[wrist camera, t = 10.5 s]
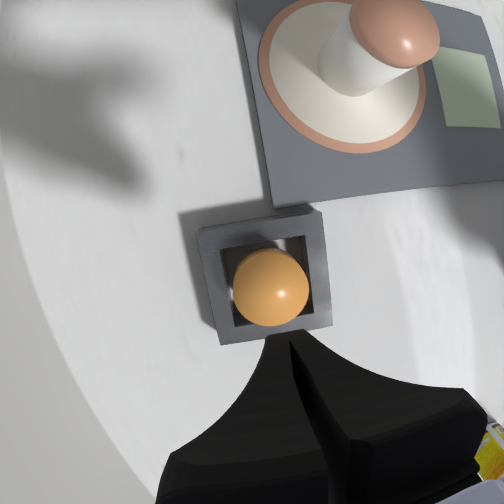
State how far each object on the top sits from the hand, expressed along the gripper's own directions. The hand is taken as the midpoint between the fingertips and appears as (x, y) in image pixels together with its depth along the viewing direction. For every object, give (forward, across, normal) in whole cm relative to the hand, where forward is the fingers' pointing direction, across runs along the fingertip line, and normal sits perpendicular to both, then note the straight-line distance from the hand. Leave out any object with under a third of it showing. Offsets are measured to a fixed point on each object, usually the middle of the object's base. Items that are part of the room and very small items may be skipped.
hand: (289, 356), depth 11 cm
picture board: (+9, -11, -11) cm, 18 cm away
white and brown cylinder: (+9, -7, -12) cm, 16 cm away
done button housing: (+9, 0, 0) cm, 9 cm away
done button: (+8, 0, 0) cm, 8 cm away
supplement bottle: (+10, -23, +26) cm, 36 cm away
